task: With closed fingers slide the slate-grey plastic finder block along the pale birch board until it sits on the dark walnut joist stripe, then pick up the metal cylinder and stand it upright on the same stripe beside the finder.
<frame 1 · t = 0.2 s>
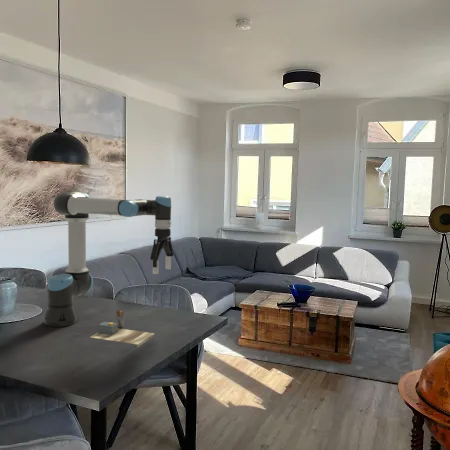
hand: (161, 271, 226), 27 cm above the table, fingers open, 13 cm apart
finder: (108, 332, 213), point 1 cm above the table, touching board
board: (122, 337, 210), on the table
metal cylinder: (120, 329, 221), on the table
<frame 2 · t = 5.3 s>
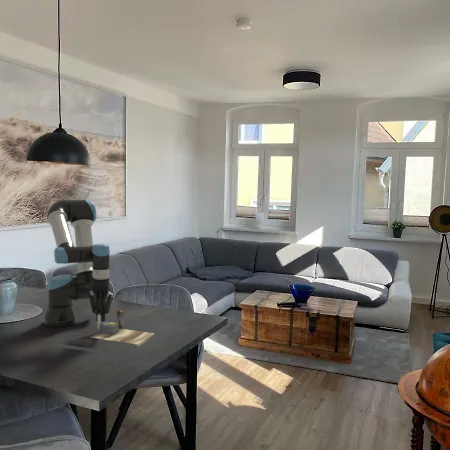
hand: (100, 328, 214), 3 cm above the table, fingers closed
finder: (108, 332, 213), point 1 cm above the table, touching board, gripper
everything else where it was.
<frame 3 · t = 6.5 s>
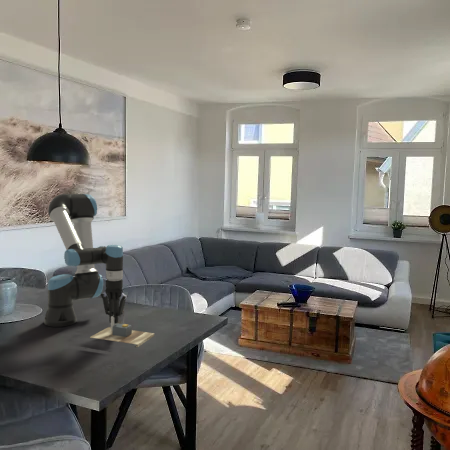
hand: (113, 329, 212), 3 cm above the table, fingers closed
finder: (122, 334, 211), point 1 cm above the table, touching board, gripper
everything else where it was.
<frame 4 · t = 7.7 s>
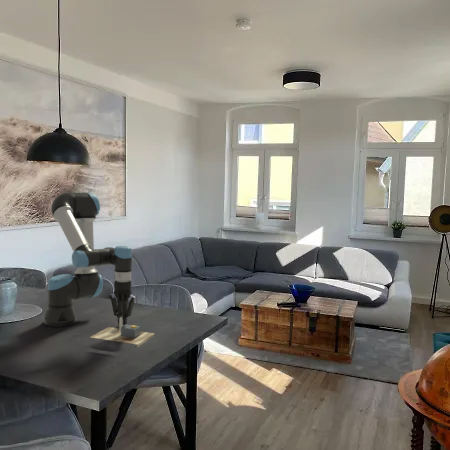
hand: (122, 331, 211), 3 cm above the table, fingers closed
finder: (130, 335, 210), point 1 cm above the table, touching board, gripper
everything else where it was.
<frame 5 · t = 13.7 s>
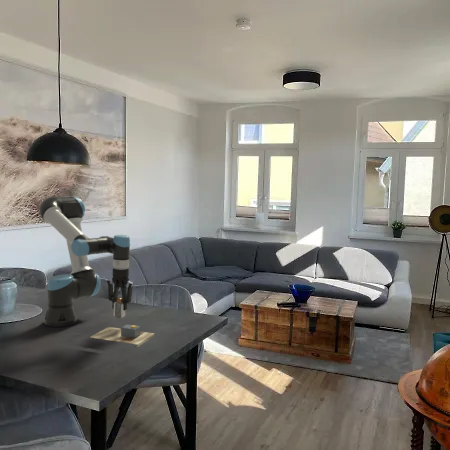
hand: (119, 315, 221), 7 cm above the table, fingers closed on metal cylinder, 3 cm apart
finder: (130, 335, 210), point 1 cm above the table, touching board
metal cylinder: (119, 316, 221), point 6 cm above the table, touching gripper
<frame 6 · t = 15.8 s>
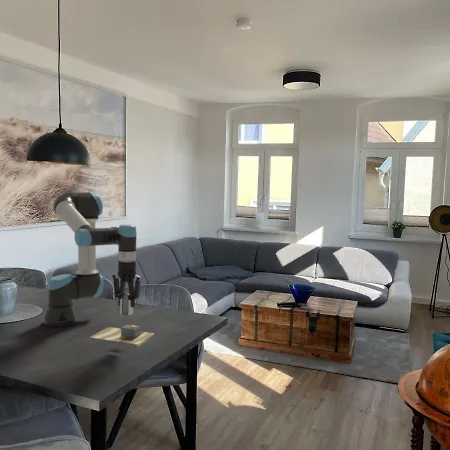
hand: (126, 313, 202), 13 cm above the table, fingers closed on metal cylinder, 3 cm apart
metal cylinder: (126, 314, 202), point 13 cm above the table, touching gripper
everything else where it was.
when the fingers open (2 cm above the table, at t = 18.0 s): metal cylinder stays where it is, resting on board.
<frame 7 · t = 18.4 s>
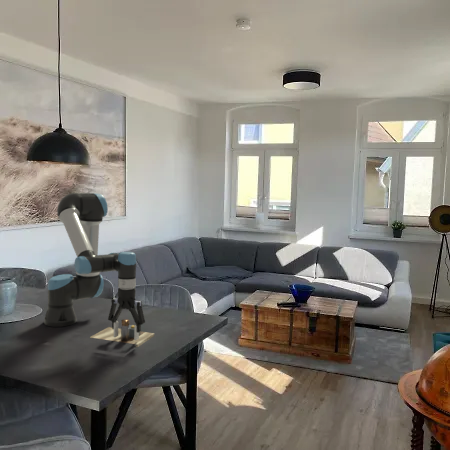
hand: (126, 337, 203), 2 cm above the table, fingers open, 9 cm apart
metal cylinder: (125, 340, 203), point 1 cm above the table, touching board
everything else where it was.
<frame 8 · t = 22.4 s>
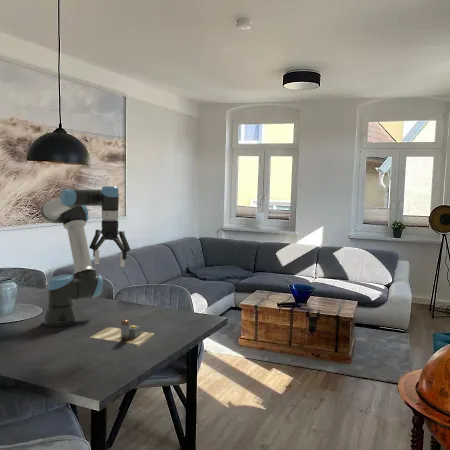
hand: (109, 265, 215), 32 cm above the table, fingers open, 13 cm apart
nothing on the table moved.
at the end: finder inside the target area on the board (2.0 cm from its centre), point 1.2 cm above the board's base; metal cylinder inside the target area on the board (0.4 cm from its centre), point 1.2 cm above the board's base; metal cylinder tilted 0° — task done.
